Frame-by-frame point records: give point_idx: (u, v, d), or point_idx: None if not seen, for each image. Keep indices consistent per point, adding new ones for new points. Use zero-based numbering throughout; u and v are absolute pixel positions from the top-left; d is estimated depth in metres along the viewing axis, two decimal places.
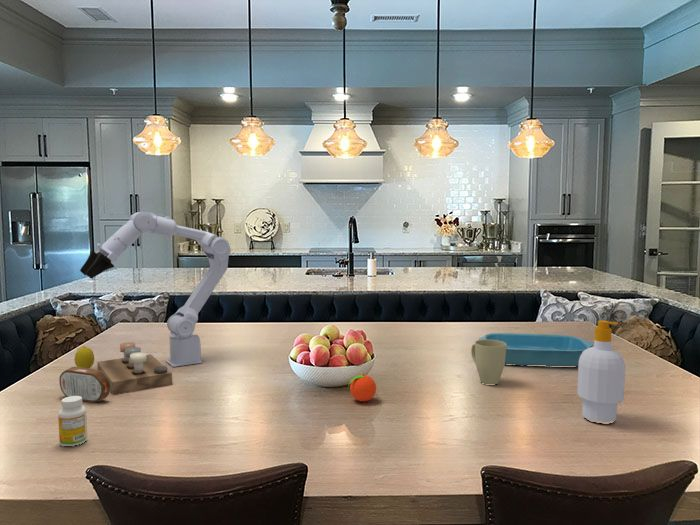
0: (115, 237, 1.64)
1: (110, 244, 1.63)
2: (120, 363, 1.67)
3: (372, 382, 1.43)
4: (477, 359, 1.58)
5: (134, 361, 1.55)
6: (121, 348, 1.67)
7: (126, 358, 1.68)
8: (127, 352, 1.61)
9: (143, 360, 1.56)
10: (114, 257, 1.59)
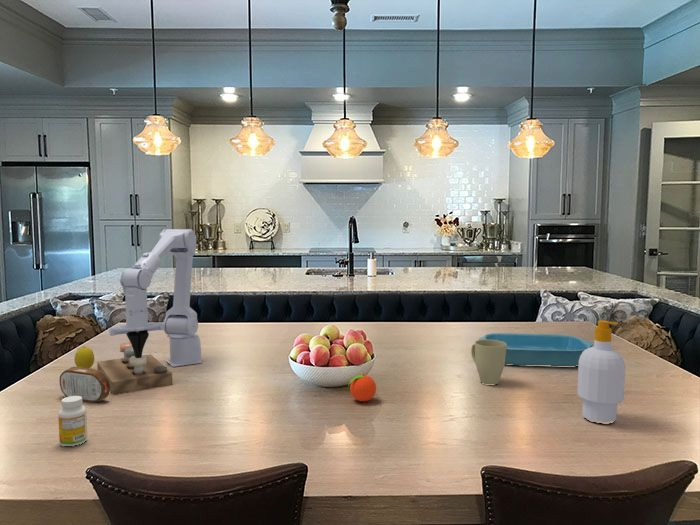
0: (145, 311, 1.55)
1: (146, 319, 1.56)
2: (120, 363, 1.67)
3: (372, 382, 1.43)
4: (477, 359, 1.58)
5: (134, 364, 1.55)
6: (121, 348, 1.67)
7: (126, 358, 1.68)
8: (127, 352, 1.61)
9: (143, 363, 1.56)
10: None
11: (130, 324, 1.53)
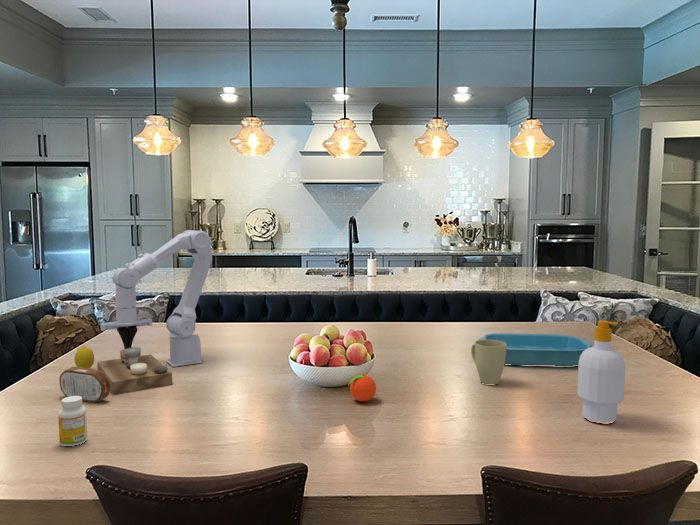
0: (134, 308, 1.67)
1: (135, 315, 1.67)
2: (120, 363, 1.67)
3: (372, 382, 1.43)
4: (477, 359, 1.58)
5: (134, 372, 1.55)
6: (121, 355, 1.67)
7: None
8: (127, 352, 1.61)
9: (143, 371, 1.56)
10: None
11: (119, 320, 1.65)
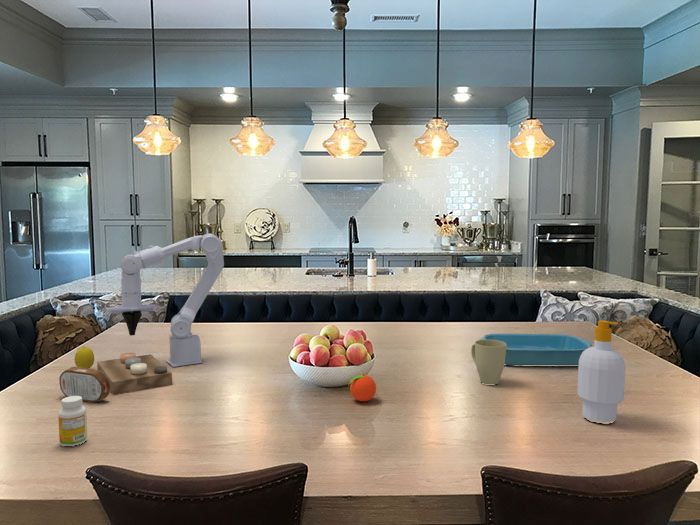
0: (138, 293, 1.73)
1: (140, 301, 1.74)
2: (120, 363, 1.67)
3: (372, 382, 1.43)
4: (477, 359, 1.58)
5: (134, 372, 1.55)
6: (121, 358, 1.67)
7: None
8: (127, 363, 1.61)
9: (143, 371, 1.56)
10: None
11: (125, 305, 1.71)
